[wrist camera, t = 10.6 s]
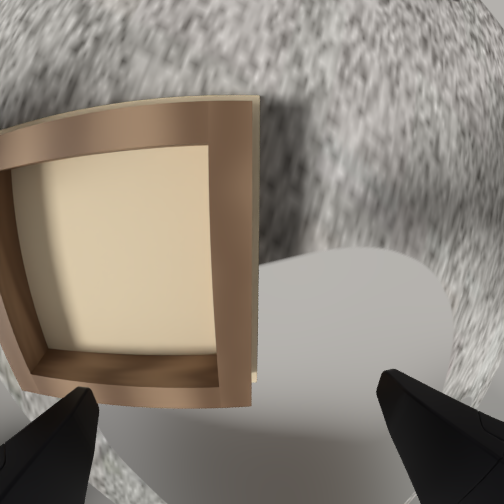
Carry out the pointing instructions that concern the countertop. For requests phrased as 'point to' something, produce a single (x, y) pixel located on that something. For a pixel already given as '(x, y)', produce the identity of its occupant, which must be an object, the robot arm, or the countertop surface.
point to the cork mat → (126, 245)
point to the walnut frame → (222, 259)
